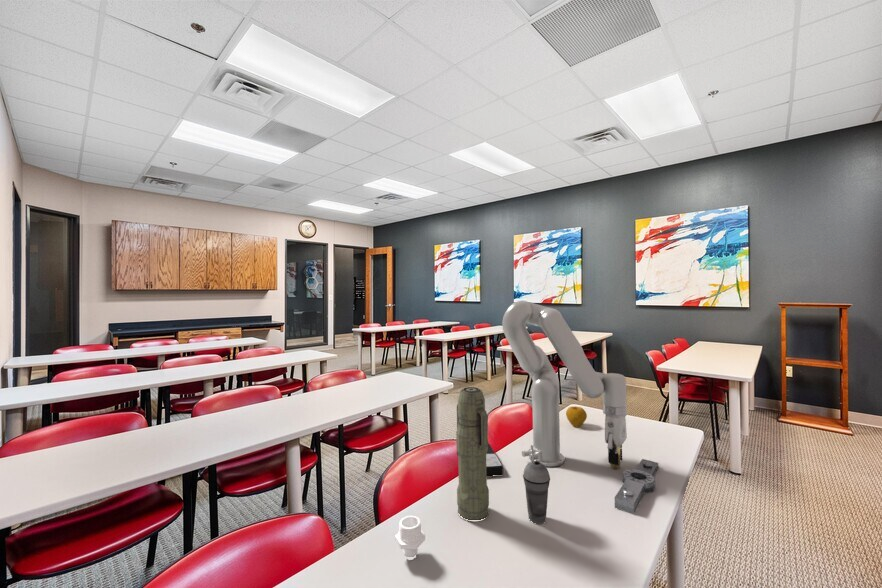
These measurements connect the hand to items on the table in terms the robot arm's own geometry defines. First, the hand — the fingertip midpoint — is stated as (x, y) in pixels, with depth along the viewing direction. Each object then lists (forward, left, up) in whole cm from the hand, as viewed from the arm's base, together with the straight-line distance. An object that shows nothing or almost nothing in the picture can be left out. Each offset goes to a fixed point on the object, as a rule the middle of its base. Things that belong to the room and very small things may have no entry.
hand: (615, 461), depth 128 cm
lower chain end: (+3, -9, -2) cm, 9 cm away
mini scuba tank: (-42, -15, -2) cm, 45 cm away
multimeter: (-43, +20, -3) cm, 48 cm away
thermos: (-57, -6, -2) cm, 58 cm away
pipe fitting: (-78, -16, -2) cm, 80 cm away
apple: (+15, +37, -2) cm, 40 cm away
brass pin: (0, 0, -2) cm, 2 cm away
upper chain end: (-8, -15, -2) cm, 17 cm away
